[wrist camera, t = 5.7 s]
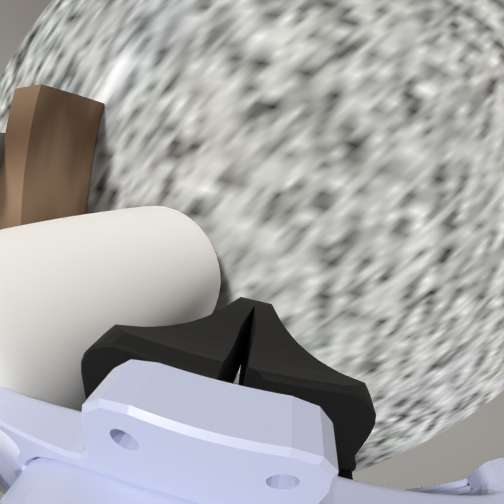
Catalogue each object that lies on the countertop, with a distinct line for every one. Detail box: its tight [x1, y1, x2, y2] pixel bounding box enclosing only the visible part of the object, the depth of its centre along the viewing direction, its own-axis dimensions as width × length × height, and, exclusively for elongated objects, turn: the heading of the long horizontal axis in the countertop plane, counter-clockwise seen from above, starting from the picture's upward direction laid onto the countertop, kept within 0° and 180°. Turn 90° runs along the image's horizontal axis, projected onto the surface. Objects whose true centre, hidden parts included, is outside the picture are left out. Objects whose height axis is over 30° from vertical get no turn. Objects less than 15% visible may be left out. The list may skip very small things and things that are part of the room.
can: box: [0, 206, 221, 495], centre depth 8 cm, size 6×6×12 cm
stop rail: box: [0, 85, 104, 230], centre depth 12 cm, size 16×4×7 cm, turn 168°
